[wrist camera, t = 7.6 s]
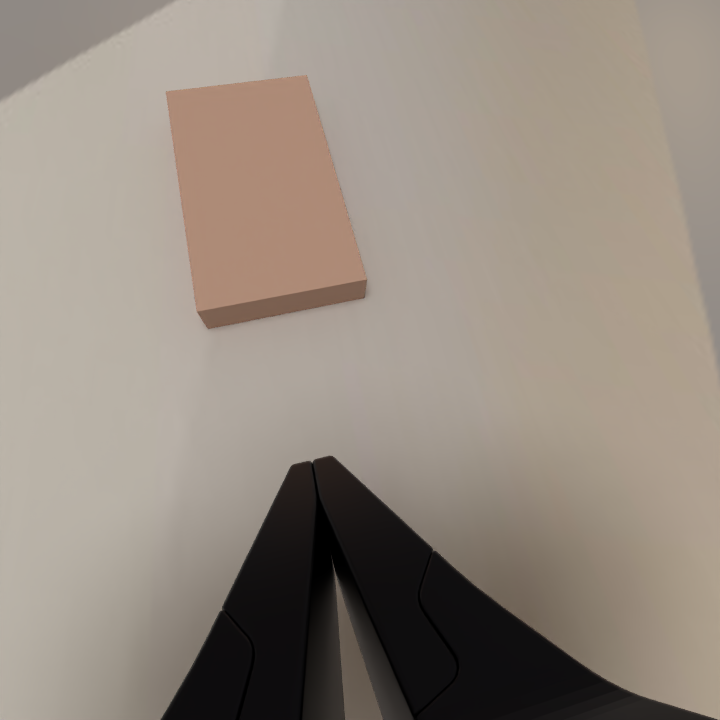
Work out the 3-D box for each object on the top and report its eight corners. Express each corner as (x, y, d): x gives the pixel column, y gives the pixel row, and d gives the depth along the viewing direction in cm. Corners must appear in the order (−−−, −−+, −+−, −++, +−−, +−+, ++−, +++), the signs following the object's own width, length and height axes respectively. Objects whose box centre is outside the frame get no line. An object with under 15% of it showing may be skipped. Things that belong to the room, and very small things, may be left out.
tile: (366, 279, 21) (306, 75, 25) (196, 311, 19) (165, 91, 24) (363, 302, 23) (308, 110, 27) (210, 332, 22) (179, 126, 26)
